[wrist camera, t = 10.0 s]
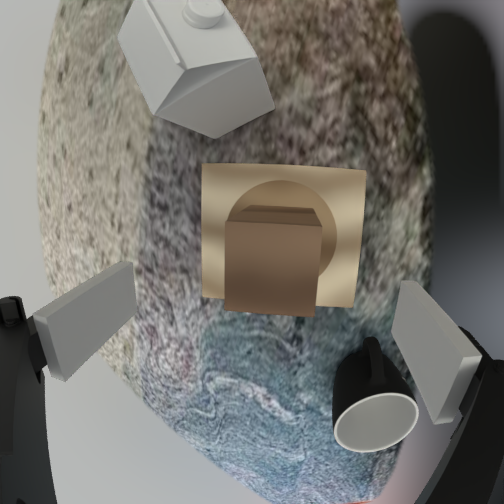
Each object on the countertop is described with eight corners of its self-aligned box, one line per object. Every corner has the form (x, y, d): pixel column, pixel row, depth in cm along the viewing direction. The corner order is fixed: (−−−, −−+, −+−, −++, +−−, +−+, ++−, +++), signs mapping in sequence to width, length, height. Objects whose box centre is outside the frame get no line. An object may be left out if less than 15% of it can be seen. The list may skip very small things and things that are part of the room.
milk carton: (215, 140, 31) (117, 104, 13) (187, 87, 30) (83, 17, 12) (276, 109, 29) (247, 26, 11) (245, 55, 28) (189, -51, 10)
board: (207, 163, 32) (201, 163, 30) (362, 170, 30) (366, 170, 28) (207, 290, 35) (202, 297, 33) (349, 300, 33) (353, 308, 31)
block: (250, 204, 30) (224, 221, 19) (313, 208, 29) (322, 226, 19) (248, 265, 31) (224, 310, 21) (309, 268, 31) (314, 317, 20)
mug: (393, 391, 35) (411, 444, 25) (328, 400, 37) (332, 457, 27) (400, 312, 33) (430, 359, 23) (325, 322, 34) (333, 374, 24)
